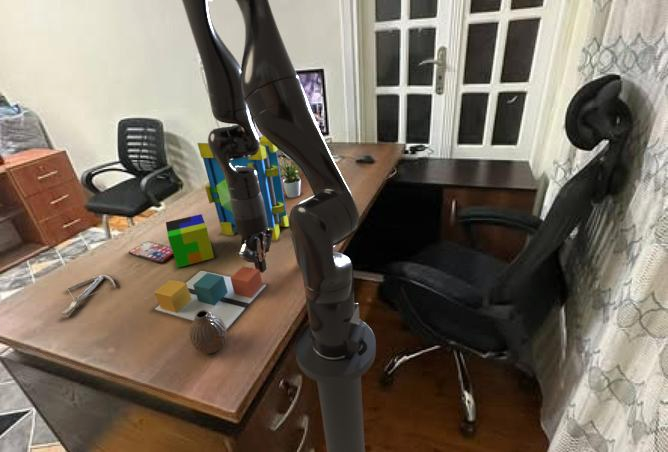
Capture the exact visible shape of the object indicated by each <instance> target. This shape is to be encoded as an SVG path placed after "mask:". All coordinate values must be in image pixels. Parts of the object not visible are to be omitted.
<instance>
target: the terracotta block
mask: <svg viewBox="0 0 668 452" xmlns="http://www.w3.org/2000/svg"><path fill="white" fill-rule="evenodd" d="M230 277H231V282H232V286H233V289H234V293H235V294H236V295H240V296H245V297H249V298H252V297H253V296H254V295H255V294H256V293H257V292H258V291H259V289H260V288H261V287H262V286H263V284H264V283H263V280H262V276H261V272H260V270H259V269H255V267H254V268H253V267H248V266H241V267H240V268H238V270H237V271H236V272H235V273H234V274H233V275H232V276H230Z"/></svg>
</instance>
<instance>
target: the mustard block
mask: <svg viewBox="0 0 668 452" xmlns="http://www.w3.org/2000/svg"><path fill="white" fill-rule="evenodd" d="M186 283H187V282H182V281H178V280H174V279H169V280H168V281H167V282H165V283H164V284H163V285H162V286H160V287H159V288H158V289H156V290H155V291H154V295H155V298H156V300H157V302H158V306H159V305H160V307H161V309H164V310H167V311H171V312H174V313H178V312H179V311H180V310H181V309H182V308H183V307H184V306H185V305H186V304H188V303H189V302H190V301H191V300H192V298H191V296H190V293H189V290H188V287H187V284H186Z"/></svg>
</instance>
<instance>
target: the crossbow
mask: <svg viewBox="0 0 668 452" xmlns="http://www.w3.org/2000/svg"><path fill="white" fill-rule="evenodd" d="M105 279H107V280H109V281H110V282H111V283H112V285H110V286H107V287H105V288H103V289H100V290H97V291H96V292H93V293H92V294H90V293H91V292H92V291H93V290H94V289H96V287H97V286H98V285H99V284H101V282H102V281H104V280H105ZM90 282H92V283H91V284H90V285H89V286H87V288H85V289H84V290H83V291H82V292H81V293H80V294H79V295H78V296H77V297H76V298H74V297H73V295H72V293H71V292H70V291H72V290H73V289H75V288H78V287H80V286H83V285H86V284H88V283H90ZM110 287H114V288H116V287H117V285H116V283H115V281H114V280H113V278H112V277H111V276H109V275H107V274H99V275H97V276H93V277H90V278H88V279H85V280H83V281H80V282H77V283H75V284H73V285H71V286H68V287H66V291H67V292H69V294H70V296H71V297H72V299H73V301H72V302H71V304H70V305H69V306H68V307H67V308H66V309H65V310H63V311H61V315H62V317H63V318H69V317H70V316H71V315H72V314H73V313H74V311H75V310H76V308H80V303H81V302H82V301H83V300H84V299H85V298H87V297H90V296H91V295H94V294H97V293H98V292H101V291H103V290H105V289H107V288H110Z"/></svg>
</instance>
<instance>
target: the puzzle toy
mask: <svg viewBox="0 0 668 452" xmlns="http://www.w3.org/2000/svg"><path fill="white" fill-rule="evenodd" d="M165 227H166V233H167V238H168V241H169V244H170V247H171V248H172V251H173V254H174V256H173V257H174V260H175V264H176V267H177V269H179V268H183V267H185V266H189V265H194V264H197V263H200V262H204V261H207V260H211V259H214V258H215V256H214V255H215V254H214V251H213V248H212V243H211V240H210V236H209V231H208V227H207V225H206V222H205V219H204V217H203V214H202V213H200V214H196V215H195V214H194V215H191V216H186V217H183V218H178V219H172V220H170V221H166V222H165Z"/></svg>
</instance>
